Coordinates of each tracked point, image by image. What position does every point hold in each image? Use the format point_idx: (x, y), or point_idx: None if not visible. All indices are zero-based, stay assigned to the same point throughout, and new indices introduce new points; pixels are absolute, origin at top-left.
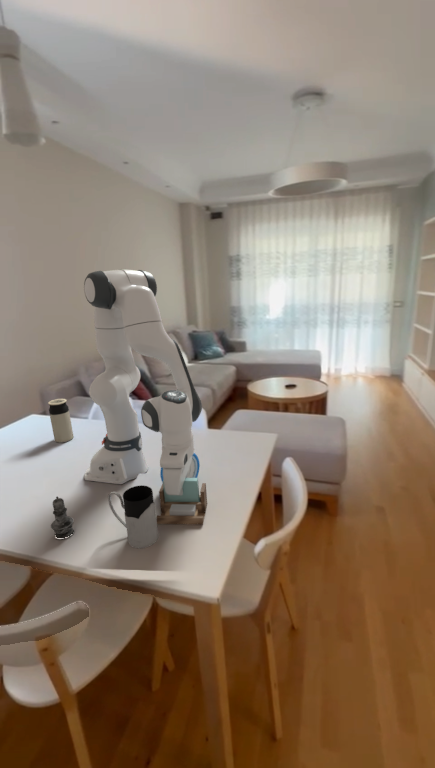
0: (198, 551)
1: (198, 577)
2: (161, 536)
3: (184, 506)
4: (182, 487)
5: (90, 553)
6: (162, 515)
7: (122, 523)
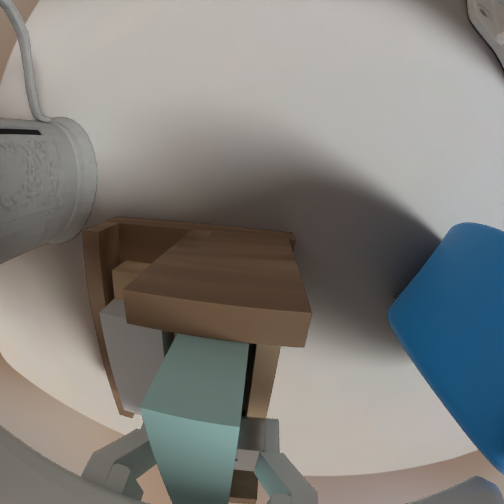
0: (55, 355)
1: (8, 341)
2: (77, 243)
3: (149, 384)
4: (146, 469)
5: (41, 31)
6: (100, 262)
7: (25, 79)
